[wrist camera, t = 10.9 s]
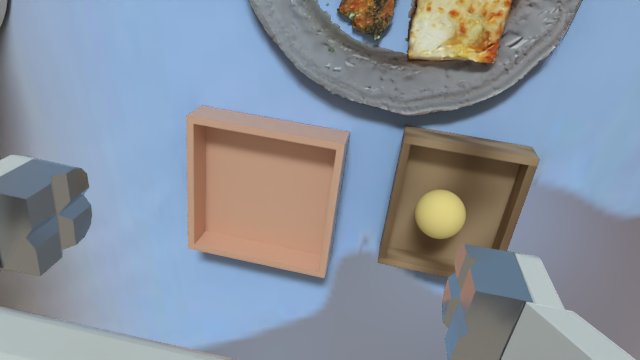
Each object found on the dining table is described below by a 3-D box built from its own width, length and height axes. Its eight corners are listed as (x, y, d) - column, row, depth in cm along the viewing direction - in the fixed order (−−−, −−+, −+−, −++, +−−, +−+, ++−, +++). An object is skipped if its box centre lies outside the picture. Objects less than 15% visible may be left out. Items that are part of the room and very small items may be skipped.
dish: (201, 232, 46) (188, 248, 43) (201, 105, 40) (186, 115, 37) (330, 259, 44) (324, 278, 41) (349, 131, 38) (344, 144, 36)
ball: (423, 216, 40) (402, 234, 37) (433, 176, 39) (412, 191, 36) (466, 235, 38) (447, 255, 35) (478, 193, 37) (460, 210, 34)
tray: (379, 246, 42) (377, 262, 40) (405, 125, 37) (404, 135, 35) (489, 269, 41) (493, 287, 39) (531, 147, 36) (539, 159, 34)
